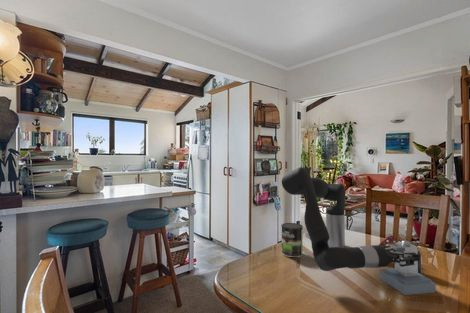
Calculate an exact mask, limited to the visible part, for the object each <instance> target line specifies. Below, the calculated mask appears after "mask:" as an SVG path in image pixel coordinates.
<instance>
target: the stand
mask: <svg viewBox="0 0 470 313" xmlns="http://www.w3.org/2000/svg"><path fill="white" fill-rule="evenodd" d="M393 269H395V267H394V268H383V269H380V270H379V271H380V272H379V274H380V276H379V278H380V280H382V281H384V282H385V283H386V284H388V285H389V286H391V287H392V288H393V289H395V290H396V291H398V292H400V293H401V294H402V295H404V296H407V295H408V296H409V295H419V294H420V295H421V294H422V295H423V294H430V293H431V294H432V293H436V282H434V281H432V279H431V278H428V277H426V276H425V275H423V274H419V273H418V275H420V277H418V278H406V279H405V278H404V277H402V276H400V275H399V274H397V273H395V272H394V271H393Z"/></svg>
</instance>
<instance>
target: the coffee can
mask: <svg viewBox="0 0 470 313" xmlns="http://www.w3.org/2000/svg"><path fill="white" fill-rule="evenodd" d="M303 229H304V226H303V225H302V224H301V223H295V222H285V223H282V224H281V254H282V256H284V255H285V256H284V257H286V256H288V257H287V258H290V257H298V258H301V257H302V256H303V255H304V254H303ZM300 256H301V257H300Z"/></svg>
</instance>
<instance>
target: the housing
mask: <svg viewBox="0 0 470 313" xmlns="http://www.w3.org/2000/svg"><path fill="white" fill-rule="evenodd" d="M410 242H411V241H409V240H405V239H402V240H401V241H400V243H395V242H394V243H395V252H401V253H403V254H408V255H411V254H418V251H419V246H418V247H417V246H414V245H412V244H410ZM399 256H400V258H401V255H399ZM404 258H405V257H404ZM394 268H395V269H393V271H394V272H395V273H397V274H399V275H400V276H402V277H404V278H405V279H406V278H418V277H420V275H418V261H414V265H410V266H404V267H401V266H399V263H394Z"/></svg>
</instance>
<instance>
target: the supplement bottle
mask: <svg viewBox="0 0 470 313" xmlns="http://www.w3.org/2000/svg"><path fill="white" fill-rule="evenodd" d="M410 244H412V245H414V246H417V247H418V248H419V245H418V243H416V242H412V241H410ZM418 254H419V255H420V257H421V258H422V253H421V251H420V250H418ZM422 268H423V267H422V259H421V260H420V261H418V273H419V274H421V275H423V273H422V272H423V270H422Z"/></svg>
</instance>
